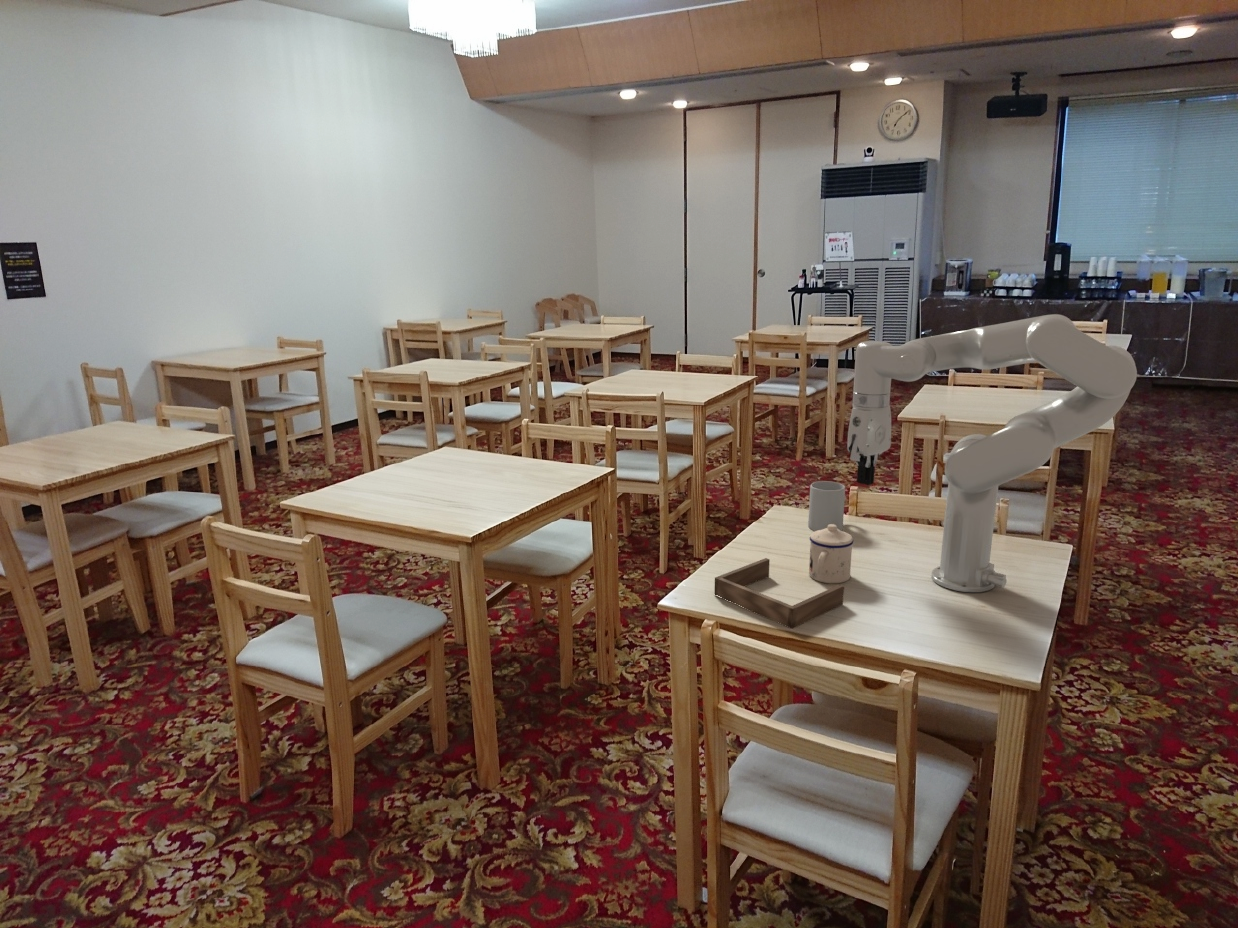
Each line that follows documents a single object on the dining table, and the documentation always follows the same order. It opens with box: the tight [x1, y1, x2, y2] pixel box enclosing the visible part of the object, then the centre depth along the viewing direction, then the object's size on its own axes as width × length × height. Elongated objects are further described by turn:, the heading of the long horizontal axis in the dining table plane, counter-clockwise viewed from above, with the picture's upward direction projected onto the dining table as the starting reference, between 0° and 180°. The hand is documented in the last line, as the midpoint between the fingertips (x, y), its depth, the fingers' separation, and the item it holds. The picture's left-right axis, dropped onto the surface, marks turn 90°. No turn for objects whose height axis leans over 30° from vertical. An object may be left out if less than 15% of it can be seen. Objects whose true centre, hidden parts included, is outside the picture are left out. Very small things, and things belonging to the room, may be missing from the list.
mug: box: [807, 480, 846, 532], centre depth 213 cm, size 12×8×11 cm
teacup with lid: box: [808, 524, 854, 584], centre depth 181 cm, size 12×9×12 cm
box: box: [713, 557, 845, 629], centre depth 172 cm, size 20×16×4 cm
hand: (865, 483), depth 185 cm, fingers closed
